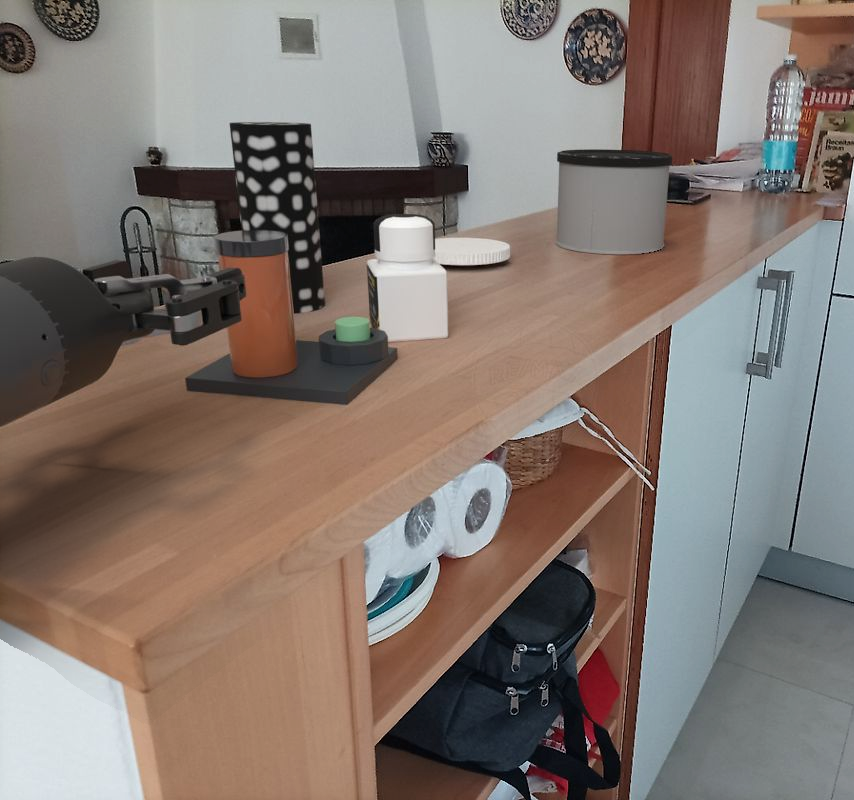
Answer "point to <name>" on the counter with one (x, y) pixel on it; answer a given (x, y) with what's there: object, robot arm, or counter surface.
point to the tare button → (352, 329)
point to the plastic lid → (470, 251)
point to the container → (612, 200)
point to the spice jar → (261, 303)
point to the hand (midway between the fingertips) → (181, 278)
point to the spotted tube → (282, 198)
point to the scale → (308, 371)
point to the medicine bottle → (407, 280)
